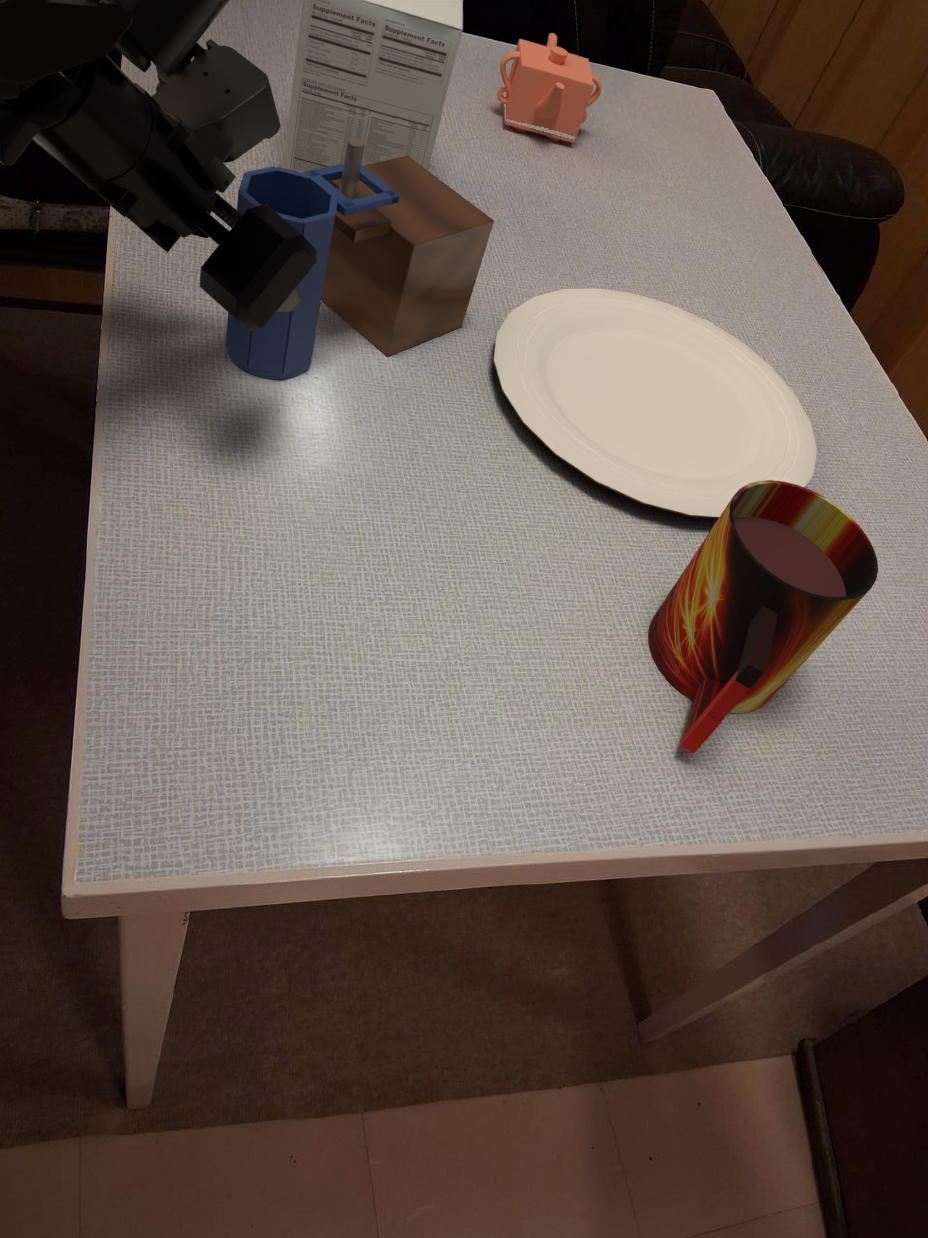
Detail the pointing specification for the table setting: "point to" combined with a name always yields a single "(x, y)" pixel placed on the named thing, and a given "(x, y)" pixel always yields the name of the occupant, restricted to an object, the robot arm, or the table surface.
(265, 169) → the measuring cup
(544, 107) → the teapot
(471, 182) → the table surface
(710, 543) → the mug
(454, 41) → the supplement box
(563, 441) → the plate
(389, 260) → the hook box
